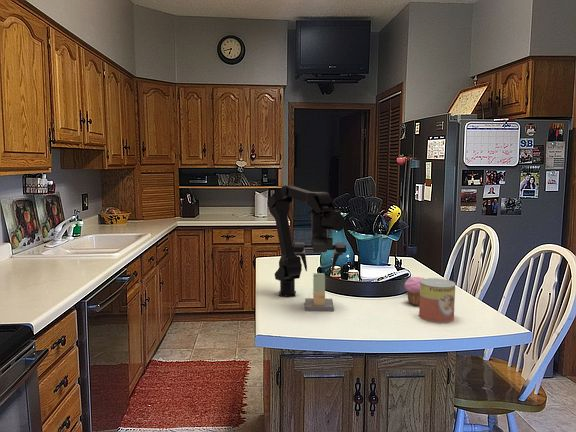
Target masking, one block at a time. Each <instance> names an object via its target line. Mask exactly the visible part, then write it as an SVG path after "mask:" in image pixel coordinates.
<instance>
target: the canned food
mask: <svg viewBox="0 0 576 432" xmlns="http://www.w3.org/2000/svg"><path fill="white" fill-rule="evenodd" d="M455 300H456V282H454V281H453V280H449V279H444V278H439V277H438V278H435V277H431V278H425V279H422V280H421V281H420V305H418V306H419V309H418V311H419V312H418V317H419V318H420V319H421V320H423V321H426V322H428V323H433V324H447V323H452V322H453V321H454V320H455Z"/></svg>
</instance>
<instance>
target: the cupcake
mask: <svg viewBox="0 0 576 432" xmlns="http://www.w3.org/2000/svg"><path fill="white" fill-rule="evenodd" d="M422 279H426V278H424V277H420V276H412V277H409V278H408V279H407V280H406V281H405V282H404V289H405V290H406V294H407V301H408V303H410V304H412V305H414V306H419V305H420V281H421V280H422Z"/></svg>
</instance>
